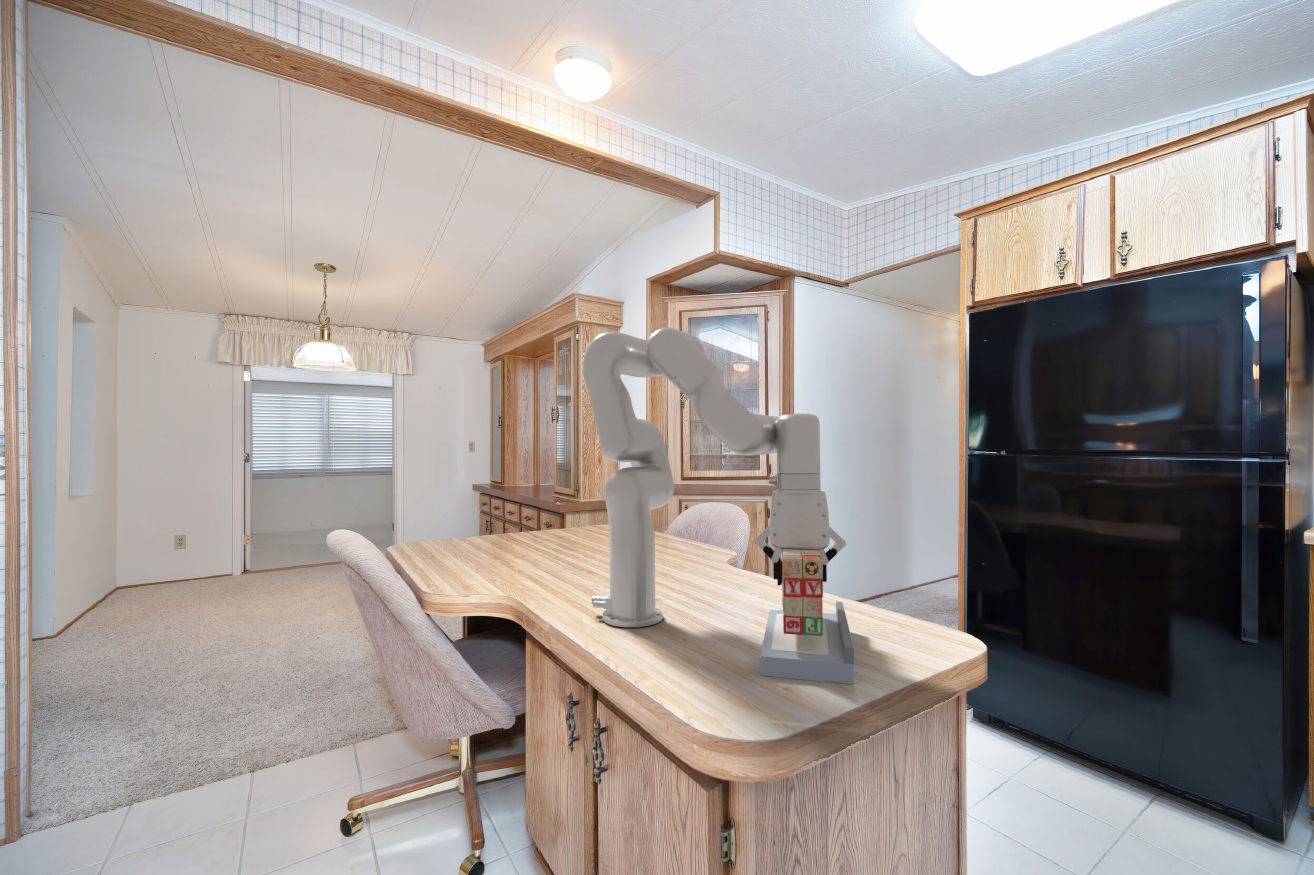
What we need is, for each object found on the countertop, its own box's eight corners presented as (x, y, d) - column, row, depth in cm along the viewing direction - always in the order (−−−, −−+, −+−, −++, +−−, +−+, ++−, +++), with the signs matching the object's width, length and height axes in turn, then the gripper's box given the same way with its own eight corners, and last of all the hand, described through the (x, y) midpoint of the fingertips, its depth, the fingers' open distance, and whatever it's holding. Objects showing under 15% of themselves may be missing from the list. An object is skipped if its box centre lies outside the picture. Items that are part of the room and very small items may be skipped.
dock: (760, 675, 89) (760, 640, 89) (769, 624, 114) (769, 597, 114) (854, 684, 86) (854, 648, 86) (842, 629, 111) (842, 601, 111)
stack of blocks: (781, 598, 112) (780, 536, 112) (814, 600, 111) (813, 537, 111) (783, 634, 91) (782, 557, 91) (824, 636, 90) (823, 558, 90)
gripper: (747, 484, 99) (748, 587, 99) (851, 485, 95) (853, 592, 94) (751, 481, 106) (752, 577, 106) (848, 482, 102) (849, 582, 102)
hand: (800, 583), depth 100 cm, fingers closed on stack of blocks, 6 cm apart
